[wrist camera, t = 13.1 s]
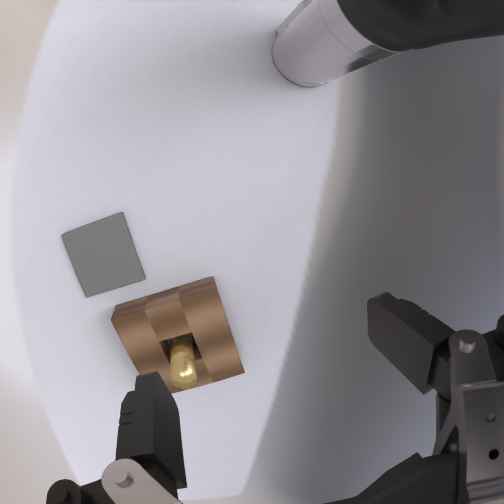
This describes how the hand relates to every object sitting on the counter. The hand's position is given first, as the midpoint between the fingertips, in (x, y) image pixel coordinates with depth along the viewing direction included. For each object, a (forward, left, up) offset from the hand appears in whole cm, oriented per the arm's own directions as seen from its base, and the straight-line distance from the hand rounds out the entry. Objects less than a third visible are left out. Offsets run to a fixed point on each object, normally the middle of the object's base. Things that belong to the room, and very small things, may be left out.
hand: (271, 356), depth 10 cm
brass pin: (+15, -8, -28) cm, 33 cm away
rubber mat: (+1, -14, -28) cm, 31 cm away
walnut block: (+15, -8, -28) cm, 33 cm away
